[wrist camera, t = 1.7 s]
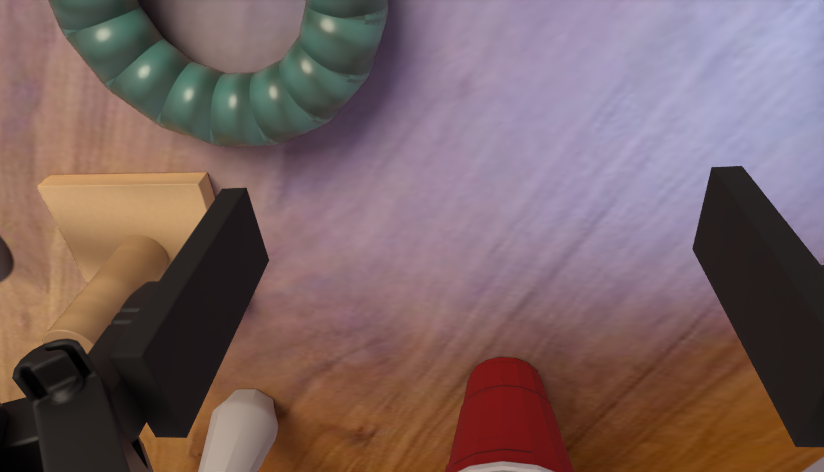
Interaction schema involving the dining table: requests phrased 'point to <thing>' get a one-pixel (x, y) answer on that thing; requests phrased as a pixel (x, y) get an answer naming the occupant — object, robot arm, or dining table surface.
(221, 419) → the salt shaker
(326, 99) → the ring
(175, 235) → the peg stand
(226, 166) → the dining table surface
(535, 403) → the plastic cup
